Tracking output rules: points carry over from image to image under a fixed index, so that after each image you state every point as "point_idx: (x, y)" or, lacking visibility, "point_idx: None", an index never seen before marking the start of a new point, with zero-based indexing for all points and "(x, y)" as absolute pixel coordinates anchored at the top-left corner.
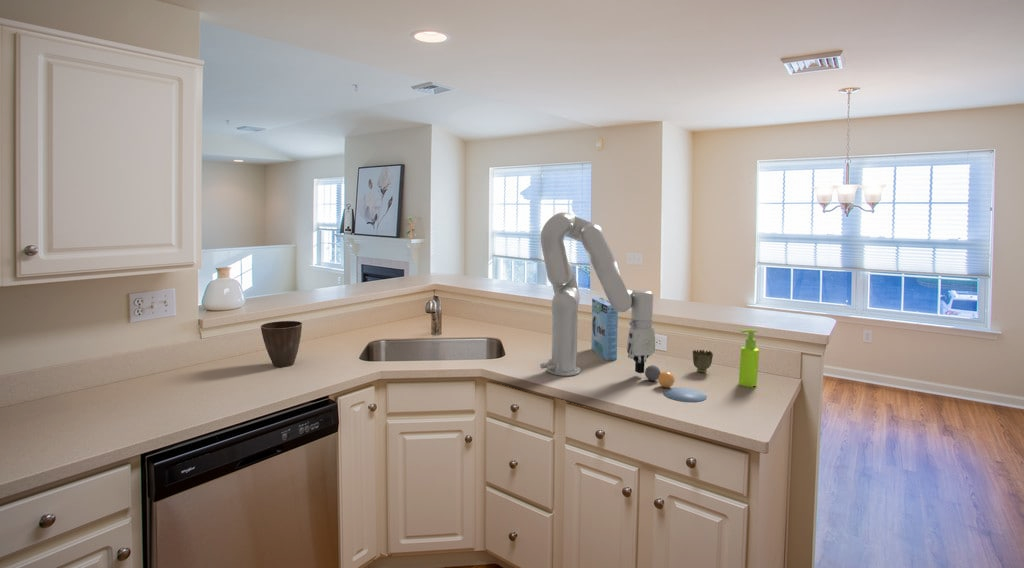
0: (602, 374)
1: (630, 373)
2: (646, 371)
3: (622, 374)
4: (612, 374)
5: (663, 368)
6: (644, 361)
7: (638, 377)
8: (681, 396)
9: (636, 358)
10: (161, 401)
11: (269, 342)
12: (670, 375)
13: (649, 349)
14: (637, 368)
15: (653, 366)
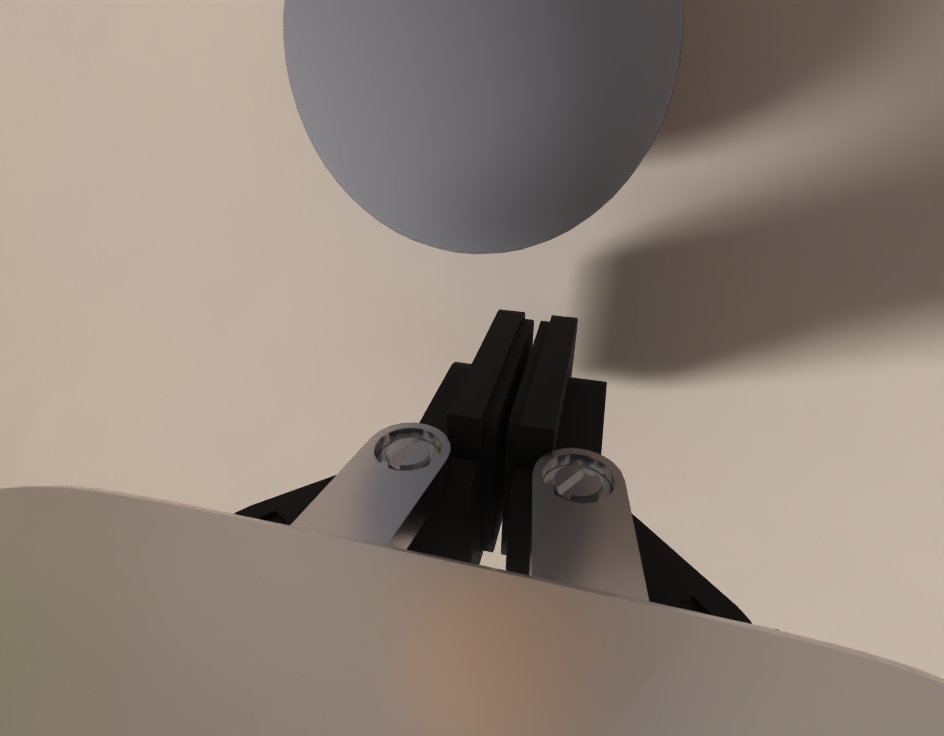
0: (921, 646)
1: None
2: (664, 104)
3: (686, 513)
4: (805, 580)
5: (78, 388)
6: (419, 446)
7: (600, 312)
8: None
9: (681, 602)
10: None
11: None
12: None
13: (31, 718)
14: (601, 414)
15: (454, 2)
